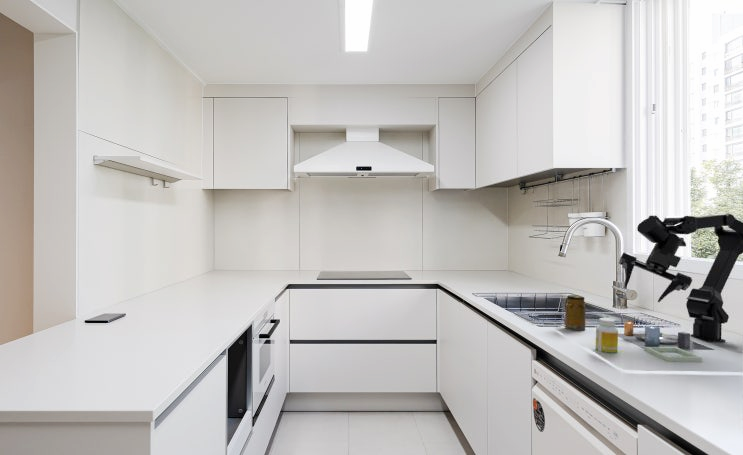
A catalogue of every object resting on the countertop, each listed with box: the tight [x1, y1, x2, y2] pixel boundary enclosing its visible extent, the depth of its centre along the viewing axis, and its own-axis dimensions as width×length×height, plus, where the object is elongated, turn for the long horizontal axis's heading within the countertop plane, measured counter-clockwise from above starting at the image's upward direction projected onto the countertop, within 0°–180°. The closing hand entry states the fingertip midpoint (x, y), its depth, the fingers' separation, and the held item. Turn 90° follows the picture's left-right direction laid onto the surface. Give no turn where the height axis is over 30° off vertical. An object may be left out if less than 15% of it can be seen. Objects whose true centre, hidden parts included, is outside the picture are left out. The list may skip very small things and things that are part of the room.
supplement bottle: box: [595, 317, 619, 354], centre depth 116 cm, size 5×5×10 cm
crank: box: [623, 321, 678, 344], centre depth 128 cm, size 15×11×5 cm
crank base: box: [618, 331, 715, 351], centre depth 126 cm, size 20×16×5 cm
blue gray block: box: [644, 325, 661, 347], centre depth 120 cm, size 4×4×6 cm
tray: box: [644, 347, 703, 363], centre depth 112 cm, size 9×9×2 cm
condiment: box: [564, 294, 587, 332], centre depth 139 cm, size 7×8×12 cm
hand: (641, 294), depth 124 cm, fingers open, 9 cm apart
